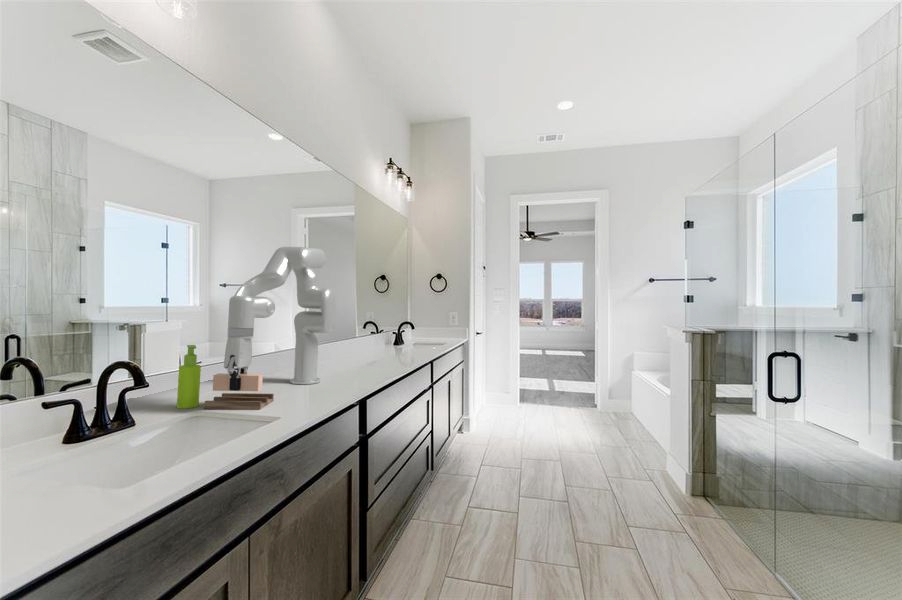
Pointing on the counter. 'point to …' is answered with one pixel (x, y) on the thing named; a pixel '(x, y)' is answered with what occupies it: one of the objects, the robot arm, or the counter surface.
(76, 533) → the counter surface
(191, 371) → the soap dispenser
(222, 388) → the pink rectangular block
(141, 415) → the counter surface
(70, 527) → the counter surface
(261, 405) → the drying rack
